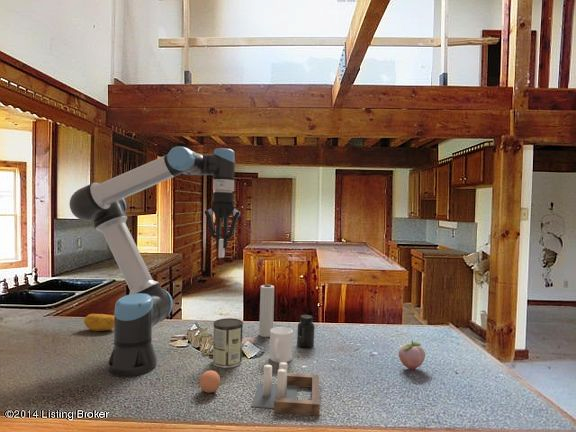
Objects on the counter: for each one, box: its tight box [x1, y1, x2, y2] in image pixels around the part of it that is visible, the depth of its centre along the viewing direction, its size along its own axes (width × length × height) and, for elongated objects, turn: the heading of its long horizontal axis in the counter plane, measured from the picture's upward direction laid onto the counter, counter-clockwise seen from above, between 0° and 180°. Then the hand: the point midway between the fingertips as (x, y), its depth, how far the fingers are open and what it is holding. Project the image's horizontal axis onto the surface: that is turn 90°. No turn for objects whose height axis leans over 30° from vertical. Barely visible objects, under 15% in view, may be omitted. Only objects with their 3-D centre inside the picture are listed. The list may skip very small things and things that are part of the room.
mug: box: [269, 326, 294, 364], centre depth 135 cm, size 12×8×10 cm
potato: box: [83, 313, 115, 332], centre depth 161 cm, size 7×14×7 cm, turn 84°
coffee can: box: [212, 317, 244, 369], centre depth 132 cm, size 10×10×14 cm
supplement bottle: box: [296, 314, 316, 350], centre depth 150 cm, size 7×7×12 cm
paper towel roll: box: [258, 284, 275, 338], centre depth 162 cm, size 7×6×21 cm
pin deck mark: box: [250, 382, 298, 410], centre depth 109 cm, size 12×14×1 cm
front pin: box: [262, 364, 273, 397], centre depth 109 cm, size 2×2×8 cm
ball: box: [199, 370, 221, 394], centre depth 110 cm, size 6×6×6 cm
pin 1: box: [278, 362, 288, 392], centre depth 111 cm, size 2×2×8 cm
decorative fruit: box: [398, 340, 426, 371], centre depth 130 cm, size 9×8×10 cm
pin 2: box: [276, 368, 286, 398], centre depth 106 cm, size 2×2×8 cm
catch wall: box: [273, 372, 321, 417], centre depth 108 cm, size 12×18×3 cm, turn 176°
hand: (221, 257), depth 136 cm, fingers closed
